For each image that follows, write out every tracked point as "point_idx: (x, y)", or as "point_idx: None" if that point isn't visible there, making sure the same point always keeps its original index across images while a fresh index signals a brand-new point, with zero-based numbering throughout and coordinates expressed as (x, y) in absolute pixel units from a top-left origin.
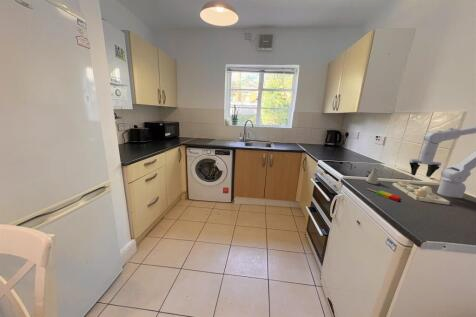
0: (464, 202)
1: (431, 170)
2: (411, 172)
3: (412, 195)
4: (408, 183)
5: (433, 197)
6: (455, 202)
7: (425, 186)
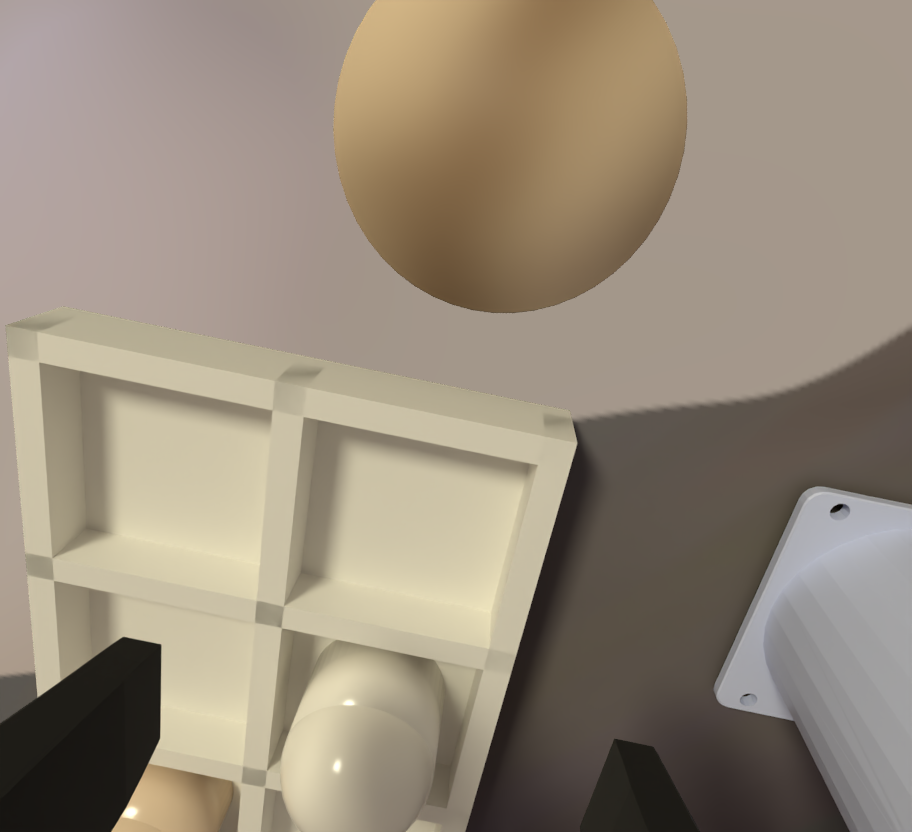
0: None
1: None
2: (64, 687)
3: None
4: (639, 74)
5: None
6: (693, 813)
7: (304, 821)
